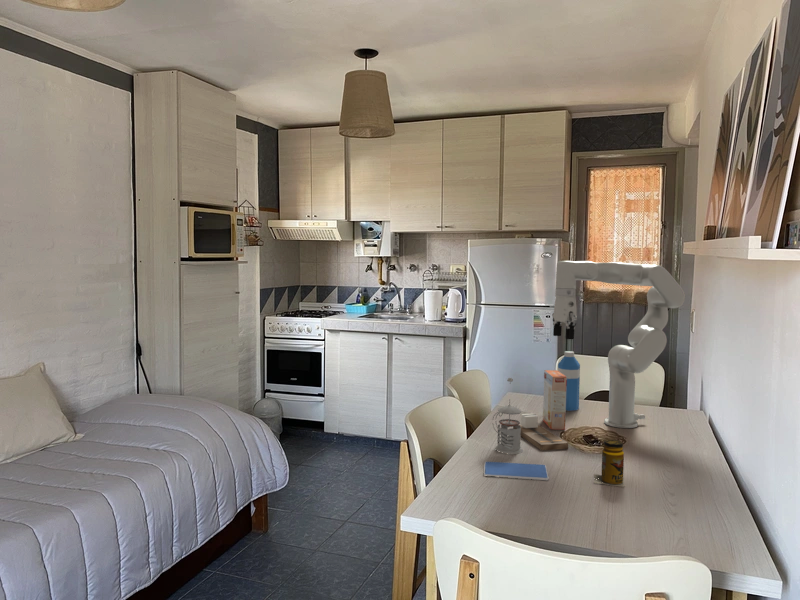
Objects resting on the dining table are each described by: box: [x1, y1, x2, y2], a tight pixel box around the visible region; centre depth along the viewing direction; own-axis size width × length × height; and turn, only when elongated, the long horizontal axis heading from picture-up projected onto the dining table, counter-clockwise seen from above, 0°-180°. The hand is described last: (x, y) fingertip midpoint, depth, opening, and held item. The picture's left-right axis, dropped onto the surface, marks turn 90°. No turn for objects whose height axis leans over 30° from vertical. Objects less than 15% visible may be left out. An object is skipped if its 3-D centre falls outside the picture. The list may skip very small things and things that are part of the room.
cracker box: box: [542, 369, 567, 431], centre depth 234 cm, size 14×6×21 cm, turn 179°
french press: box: [492, 377, 524, 455], centre depth 204 cm, size 10×12×25 cm
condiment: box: [593, 439, 626, 488], centre depth 175 cm, size 7×8×12 cm
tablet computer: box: [483, 461, 550, 481], centre depth 183 cm, size 19×13×1 cm, turn 80°
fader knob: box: [520, 413, 539, 428], centre depth 224 cm, size 5×4×4 cm
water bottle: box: [557, 350, 581, 412], centre depth 261 cm, size 9×9×25 cm
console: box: [512, 424, 569, 451], centre depth 216 cm, size 10×24×2 cm, turn 13°
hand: (563, 337), depth 229 cm, fingers open, 9 cm apart
